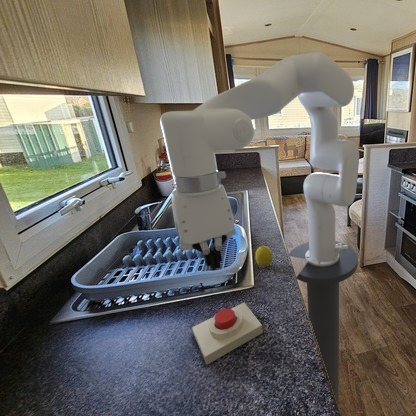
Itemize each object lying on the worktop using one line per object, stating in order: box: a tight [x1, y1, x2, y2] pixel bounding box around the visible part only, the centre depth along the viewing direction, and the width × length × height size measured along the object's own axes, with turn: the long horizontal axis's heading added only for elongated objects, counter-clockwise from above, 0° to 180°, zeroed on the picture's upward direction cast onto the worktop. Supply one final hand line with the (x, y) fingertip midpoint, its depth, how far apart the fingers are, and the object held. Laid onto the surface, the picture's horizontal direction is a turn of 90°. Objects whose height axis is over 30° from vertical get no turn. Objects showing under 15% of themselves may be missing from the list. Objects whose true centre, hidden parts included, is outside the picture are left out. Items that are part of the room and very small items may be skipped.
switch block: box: [191, 302, 264, 365], centre depth 61 cm, size 13×10×4 cm
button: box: [214, 308, 236, 330], centre depth 60 cm, size 4×4×2 cm
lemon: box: [254, 245, 274, 268], centre depth 86 cm, size 6×6×8 cm
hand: (214, 266), depth 55 cm, fingers closed
